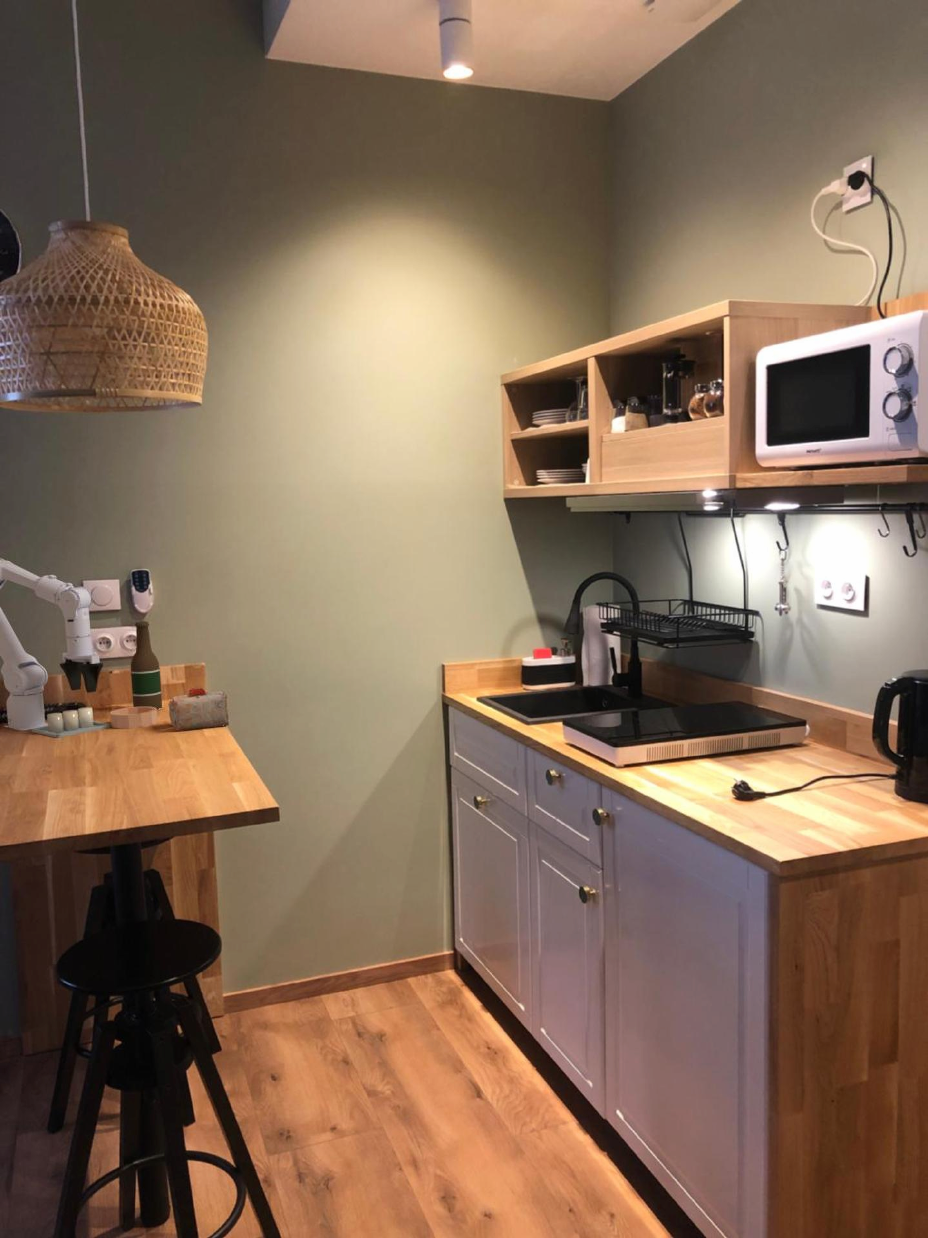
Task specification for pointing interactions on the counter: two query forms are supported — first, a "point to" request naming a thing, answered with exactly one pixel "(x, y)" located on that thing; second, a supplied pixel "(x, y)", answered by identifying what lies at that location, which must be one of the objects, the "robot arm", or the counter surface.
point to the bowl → (133, 717)
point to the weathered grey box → (198, 710)
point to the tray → (67, 733)
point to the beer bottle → (145, 671)
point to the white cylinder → (55, 723)
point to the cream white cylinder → (85, 717)
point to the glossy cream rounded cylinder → (70, 720)
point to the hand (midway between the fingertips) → (83, 691)
